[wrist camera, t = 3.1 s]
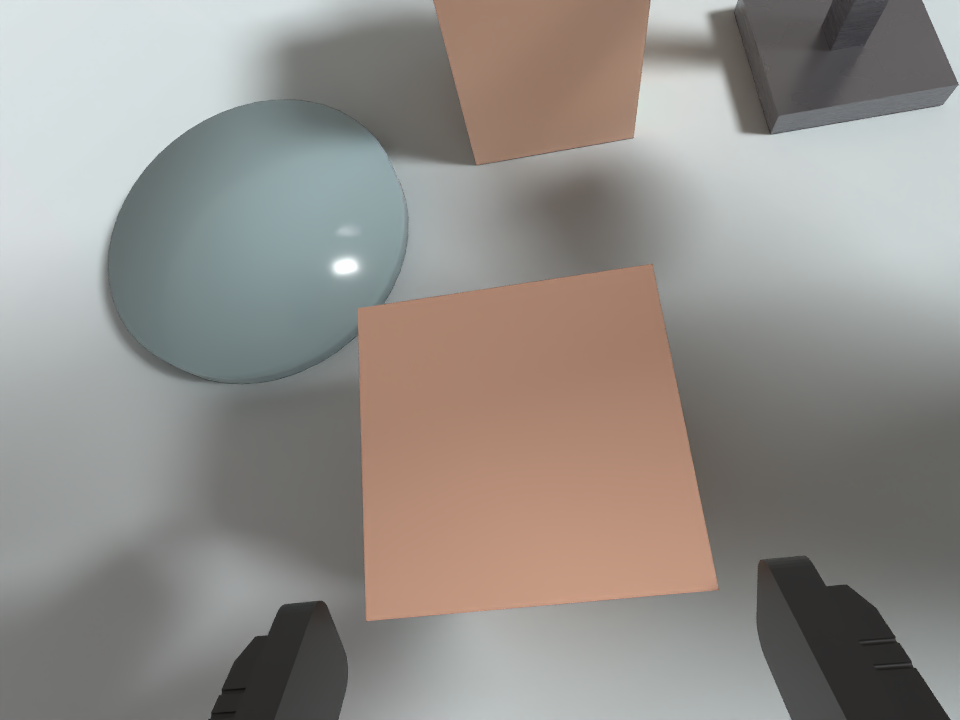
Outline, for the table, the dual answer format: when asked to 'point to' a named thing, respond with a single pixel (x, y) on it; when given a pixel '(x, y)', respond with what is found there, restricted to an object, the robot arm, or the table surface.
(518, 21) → the salmon square column
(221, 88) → the table surface
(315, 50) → the table surface
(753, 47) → the balance
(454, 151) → the table surface
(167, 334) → the dish
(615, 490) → the salmon rectangular block
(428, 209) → the table surface
